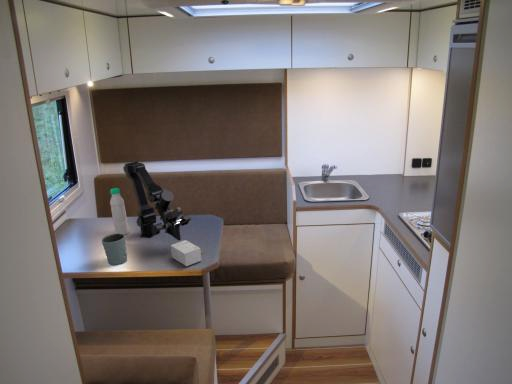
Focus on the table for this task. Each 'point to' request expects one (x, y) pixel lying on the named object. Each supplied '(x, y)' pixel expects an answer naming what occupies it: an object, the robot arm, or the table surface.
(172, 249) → the small box
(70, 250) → the table surface
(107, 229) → the table surface
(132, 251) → the table surface
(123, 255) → the green cup
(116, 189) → the water bottle
